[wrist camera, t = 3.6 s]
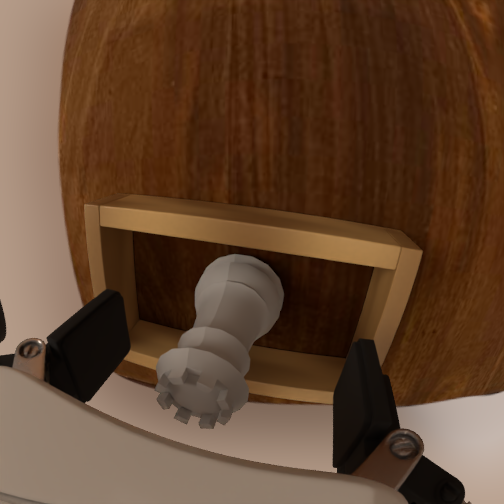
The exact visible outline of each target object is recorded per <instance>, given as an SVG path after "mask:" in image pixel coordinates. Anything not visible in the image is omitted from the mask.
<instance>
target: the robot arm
mask: <svg viewBox="0 0 504 504" xmlns="http://www.w3.org/2000/svg"><path fill="white" fill-rule="evenodd" d="M47 341H48V343H47V344H46V345H45V343H44V341H42V340H41V339H38V338H30V339H26V340H24V341H22V342H21V343H20V344H19V345H18V346H17V348H16V351H15V354H9V355H1V356H0V504H471V503H470V502H468V503H466V502H465V501H464V497H465V489H464V486H463V484H462V483H461V482H460V481H459V480H458V479H457V478H455V477H454V476H452V475H451V474H449V473H448V472H446V471H445V470H443V469H442V468H441V467H439V466H438V465H436V464H435V463H433V462H432V461H430V460H429V459H428V458H426V457H425V456H423V455H422V454H423V452H424V444H423V441H422V439H421V438H420V436H419V435H418V434H416V433H415V432H413V431H411V430H409V429H400V425H399V420H398V415H397V410H396V405H395V400H394V396H393V392H392V387H391V383H390V379H389V377H388V375H383V374H382V370H381V366H380V362H379V358H378V354H377V350H376V346H375V342H374V340H370V339H361V338H360V339H358V341H357V342H353V343H352V345H351V348H350V351H349V354H348V356H347V359H346V362H345V364H344V367H343V370H342V372H341V375H340V377H339V380H338V382H337V385H336V387H335V390H334V394H333V467H334V468H337V473H332V472H323V471H316V470H315V471H314V470H305V469H298V468H290V467H283V466H277V465H271V464H265V463H259V462H254V461H249V460H244V459H239V458H235V457H229V456H225V455H222V454H217V453H214V452H210V451H206V450H202V449H199V448H195V447H192V446H188V445H185V444H182V443H179V442H176V441H173V440H170V439H167V438H164V437H161V436H159V435H156V434H153V433H150V432H148V431H145V430H143V429H140V428H137V427H134V426H133V425H130V424H128V423H125V422H123V421H120V420H118V419H116V418H114V417H111V416H109V415H107V414H105V413H103V412H101V411H99V410H97V409H95V408H93V407H91V406H89V405H87V404H85V402H86V401H87V402H88V401H90V400H91V398H92V397H93V396H94V395H95V393H96V392H97V391H98V390H99V388H100V387H101V386H102V385H103V384H104V382H105V381H106V380H107V379H108V377H109V376H110V375H111V374H112V373H113V371H114V370H115V369H116V368H117V366H118V365H119V364H120V363H121V362H122V360H123V359H124V358H125V357H126V355H127V354H128V353H129V351H130V348H131V344H130V338H129V332H128V326H127V320H126V313H125V306H124V299H123V297H122V296H121V294H120V292H118V291H115V290H111V289H106V290H104V291H103V292H102V293H100V294H99V295H98V296H97V297H95V298H94V299H93V300H91V301H90V302H89V303H88V304H86V305H85V306H84V307H83V308H81V309H80V310H79V311H78V312H77V313H75V314H74V315H73V316H72V317H71V318H69V319H68V320H67V321H66V322H64V323H63V324H62V325H61V326H60V327H58V328H57V329H56V330H55V331H54V332H52V333H51V334H50V335H49V336H48V337H47Z"/></svg>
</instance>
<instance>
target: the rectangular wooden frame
mask: <svg viewBox="0 0 504 504" xmlns="http://www.w3.org/2000/svg"><path fill="white" fill-rule="evenodd" d="M84 211H85V226H86V238H87V249H88V258H89V266H90V273H91V280H92V287H93V293H94V298H95V297H97V296H98V295H99V294H100V293H102V292H103V291H104V290H106V289H111V290H115V291H118V292H120V294H121V296H122V297H123V299H124V306H125V313H126V320H127V326H128V332H129V338H130V344H131V348H130V351H129V353H128V354H127V355H126V357H125V358H124V360H127V361H130V362H133V363H136V364H139V365H142V366H145V367H148V368H151V369H154V370H156V365H157V363H158V360H159V358H160V356H161V355H163V354H165V353H166V352H168V351H169V350H171V349H176V348H178V342H179V340H180V338H181V336H182V334H184V333H186V332H187V331H182V330H178V329H174V328H170V327H166V326H162V325H158V324H154V323H151V322H147V321H143V320H140V319H139V311H138V302H137V292H136V281H135V268H134V252H133V231H138V232H145V233H152V234H159V235H166V236H173V237H179V238H186V239H193V240H200V241H207V242H213V243H220V244H227V245H233V246H240V247H247V248H254V249H260V250H267V251H274V252H280V253H287V254H293V255H300V256H307V257H313V258H320V259H326V260H333V261H340V262H346V263H353V264H359V265H366V266H372V267H374V270H373V274H372V278H371V282H370V285H369V289H368V292H367V296H366V299H365V302H364V306H363V309H362V312H361V315H360V319H359V322H358V325H357V328H356V331H355V334H354V337H353V340H352V343H353V342H357V341H358V339H360V338H361V339H370V340H374V342H375V346H376V350H377V354H378V358H379V362H380V366H382V364H383V361H384V359H385V357H386V355H387V352H388V350H389V348H390V345H391V343H392V341H393V338H394V336H395V333H396V331H397V328H398V326H399V323H400V321H401V318H402V315H403V312H404V310H405V307H406V304H407V301H408V298H409V296H410V293H411V290H412V287H413V283H414V280H415V277H416V274H417V271H418V267H419V264H420V260H421V257H422V253H423V251H422V250H421V249H420V248H419V247H418V246H417V245H416V244H415V243H414V242H413V241H412V240H411V239H410V238H409V237H408V236H406V235H405V234H404V233H403V232H402V231H400V230H395V229H390V228H383V227H379V226H373V225H368V224H362V223H356V222H350V221H344V220H338V219H332V218H326V217H319V216H313V215H306V214H300V213H293V212H286V211H279V210H272V209H264V208H257V207H249V206H241V205H233V204H224V203H216V202H207V201H198V200H188V199H178V198H168V197H157V196H146V195H134V194H133V195H132V194H122V193H117V194H114V195H111V196H108V197H105V198H101V199H98V200H95V201H92V202H89V203H86V204H84ZM352 343H351V345H352ZM351 345H350V348H351ZM350 348H349V351H350ZM349 351H348V354H349ZM348 354H347V356H348ZM248 355H249V357H250V367H249V371H248V372H247V373H246V375H245V376H244V379H245V381H246V383H247V385H248V388H249V393H253V394H258V395H264V396H270V397H277V398H284V399H291V400H298V401H307V402H316V403H326V404H333V394H334V390H335V387H336V385H337V382H338V380H339V377H340V375H341V372H342V370H343V367H344V364H345V362H346V359H347V357H346V359H345V358H339V357H330V356H322V355H314V354H306V353H299V352H292V351H285V350H279V349H272V348H266V347H261V346H255V345H252V346H251V348H250V350H249V353H248Z"/></svg>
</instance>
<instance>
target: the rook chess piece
mask: <svg viewBox="0 0 504 504" xmlns="http://www.w3.org/2000/svg"><path fill="white" fill-rule="evenodd" d="M283 298H284V292H283V289H282V285H281V282H280V279H279V277H278V276H277V275H276V274H275V273H274V271H273V270H272V269H271V268H270V267H269V265H267V264H265V263H263V262H262V261H260V260H258V259H256V258H254V257H253V256H246V255H239V254H232V255H228V256H224V257H220V258H218V259H216V260H215V261H214V262H213V263H211V264H210V265H209V266H208V267H206V269H205V271H204V273H203V275H202V276H201V278H200V280H199V282H198V285H197V287H196V289H195V308H196V315H197V317H196V320H195V323H194V326H193V328H192V329H190V330H189V331H187V332H186V333H184V334H182V336H181V338H180V340H179V342H178V348H176V349H171V350H169V351H168V352H166V353H165V354H163V355H161V356H160V358H159V360H158V363H157V365H156V371H157V377H158V381H159V382H158V383H157V386H156V388H155V391H157V392H160V394H159V396H158V398H157V401H158V403H159V404H160V405H161V407H162V408H163V409H169V408H170V406H171V404H173V405H174V406H176V407H177V408H178V411H177V413H176V415H175V417H174V418H175V419H177V420H179V421H181V422H183V423H185V424H187V423H188V420H189V418H190V416H191V415H192V416H196V417H200V418H201V419H200V421H199V426H200V428H211V429H213V428H214V426H215V423H216V420H217V422H219V423H221V424H223V425H225V424H226V423H227V422H228V421H229V420H230V418H231V415H232V413H233V412H236V411H238V410H240V409H241V408H242V406H243V405H244V404H245V403H246V402H247V401H248V394H249V388H248V385H247V383H246V381H245V379H244V376H245V375H246V373H247V372H248V371H249V367H250V357H249V355H248V353H249V350H250V348H251V346H252V345H253V343H254V341H255V340H256V339H258V338H260V337H261V336H262V335H264V334H266V333H268V332H269V330H270V329H271V328H272V326H273V325H274V324H275V322H276V321H277V319H278V318H279V314H280V310H281V309H282V304H283Z"/></svg>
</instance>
